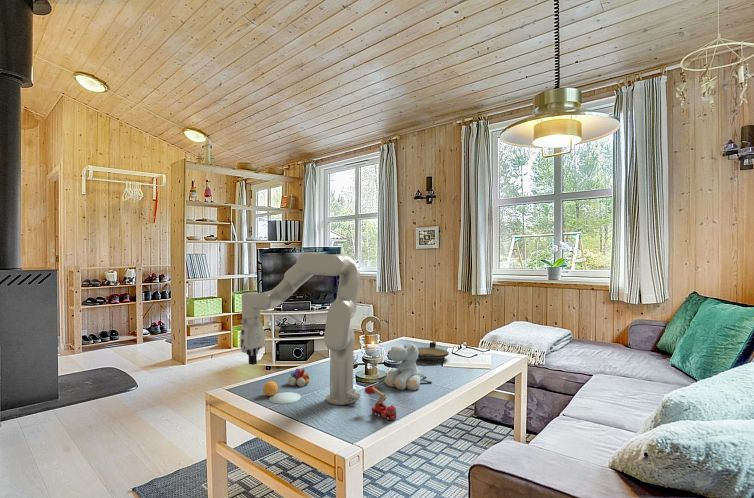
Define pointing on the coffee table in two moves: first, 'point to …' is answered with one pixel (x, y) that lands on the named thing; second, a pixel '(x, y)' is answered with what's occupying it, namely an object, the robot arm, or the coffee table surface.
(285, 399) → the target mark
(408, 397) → the coffee table surface
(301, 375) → the multicolored petal flower toy
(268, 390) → the ball
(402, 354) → the hippo plush
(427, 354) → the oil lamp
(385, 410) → the toy fire truck
